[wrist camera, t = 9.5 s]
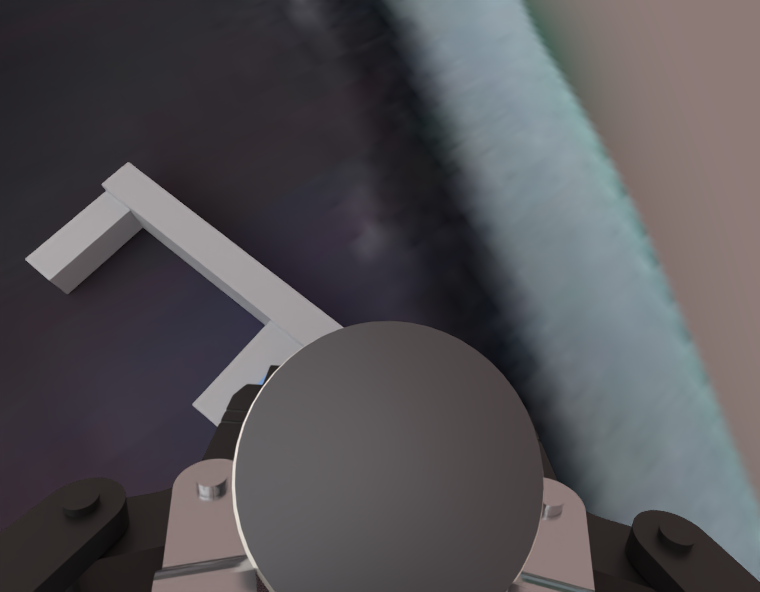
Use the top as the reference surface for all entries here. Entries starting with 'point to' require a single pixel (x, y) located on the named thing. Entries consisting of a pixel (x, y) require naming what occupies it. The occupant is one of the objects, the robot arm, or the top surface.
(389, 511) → the grey cylinder post
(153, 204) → the grey blue frame
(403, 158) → the top surface
